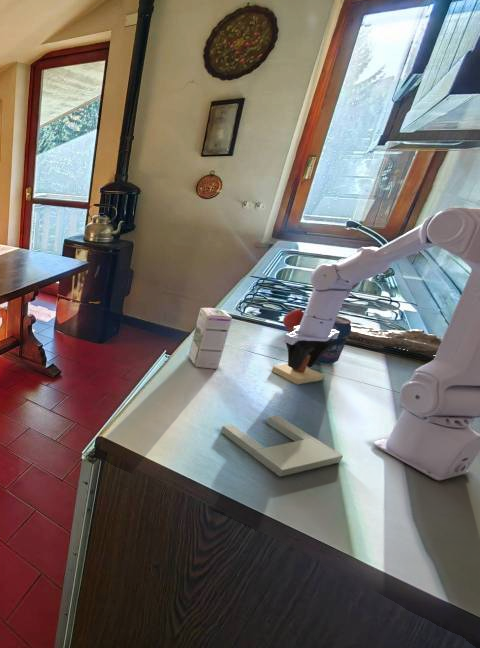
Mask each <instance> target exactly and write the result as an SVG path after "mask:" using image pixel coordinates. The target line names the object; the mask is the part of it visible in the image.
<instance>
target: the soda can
mask: <svg viewBox="0 0 480 648" xmlns="http://www.w3.org/2000/svg"><path fill="white" fill-rule="evenodd" d="M351 324H352V321H351V320H350V319H348V318H345V317H343V316H340V315H338V316H337V318H336V320H335V323H334V325H333V328H332V329H334V330H337V331H339V335H338V337H337V339H332V338H330V339H329V340H328V341H331V342H333V343H334V346H333V347H332V348H330V349H329V350H327V351H326V352H325V353H324V354H323V355H322V356H321V357H320V358H319V359H318V360H317V362H316V363H315V364H321V365H325V366H326V365H327V366H329V365H330V366H331V365H333V364H334V363H337V362H338V361H339V360H340V357H341V354H342V352H343V350H344V348H345V346H346V343H347V341H348V336H349V334H350V332H351V329H352V328H351Z"/></svg>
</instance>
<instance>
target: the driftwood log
mask: <svg viewBox="0 0 480 648" xmlns="http://www.w3.org/2000/svg"><path fill="white" fill-rule="evenodd" d="M351 328H352V329H351V332H350V334H349V336H348V339H350V340H354V341H356V342H359V343H365V344H368V345H373V346H378V347H379V346H381V347H385V348H392V349H396V350H399V351H401V352H405V353H409V354H418V355H423V356H425V357H427V358H432V359H434V358H435V356H433V355H436V353H437V351H438V349H439V346H440V344H441V342H442V339H443V337H438V336H437V335H436V334H429V333H427V332H426V333H425V330H424V329H409V330H407V329H406V330H398V329H390V330H388V329H376V328H373V327H369V326H364V325H363V326H362V325H358V324H352V323H351ZM356 338H357V339H356ZM348 339H347V340H348ZM360 339H361V340H360ZM364 340H365V341H364ZM394 347H396V348H394ZM399 348H401V349H399ZM403 349H405V350H403ZM407 350H408V351H407Z"/></svg>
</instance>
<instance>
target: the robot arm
mask: <svg viewBox="0 0 480 648" xmlns="http://www.w3.org/2000/svg"><path fill="white" fill-rule="evenodd" d="M434 247H438V248H440V249H442V250H444V251H446V252H448V253H449V254H452V255H454V256H455V257H457V258H460V259H461V260H462V261H463V262H464V263H465V264H466V265H467V267H469V268H470V270H471V271H470V273H469V276H468V278H467V280H466V283H465V285H464V287H463V290H462V291H461V294H460V297H459V299H458V302H457V303H456V307H455V308H454V311H453V313H452V316H451V318H450V320H449V323H448V325H447V328H446V330H445V332H444V335H443V337H442V342H441V344H440V346H439V349H438V351H437V353H436V356H435V358H433V359H432V360H431V361H429V362H427V363H425V364H423V365H421V366H419V367H418V368H416V369H415V370H414V372H413V373H412V376H411V377H410V378H409V379H408V380H407V381H406V382H404V383H403V384H402V385H401V387H400V389H399V400H400V402H401V404H402V405H401V408H402V409H403V410H402V412H401V414H400V415H399V417H398V419H397V421H396V423H395V425H394V426H393V429H392V430H391V432H390V433H389V435H388V438H383V439H381V440H376V441H372V446H374V447H376V448H378V449H380V450H381V451H383V452H385V453H387V454H389V455H391V456H392V457H393V458H396V459H397V460H399V461H401V462H402V463H405V464H406V465H407V466H410V467H412V468H413V469H415V470H417V471H419V472H420V473H422V474H424V475H426V476H428V477H430V478H431V479H433V480H435V481H438V482H439V481H440V482H441V481H443V480H444V481H445V480H447V479H450V478H451V479H452V478H454V477H459V476H461V475H465V474H468V473H469V468H470V467H471V466H472V465H473V462H474V461H475V459H476V458H477V456H478V455H479V454H480V433H478V432H477V431H475V430H473V429H472V428H471V427H470V426H469V425H470V424H473V423H474V421H475V419H480V207H464V206H451V207H448V208H447V207H446V208H444V209H442V210H440V211H439V212H437V213H436V214H432V215H429V216H427V217H425V218H424V220H423V222H422V223H421V224H420V225H418V226H416V227H415V228H413V229H411V230H409V231H408V232H406V233H404V234H402V235H400V236H398V237H396V238H395V239H393V240H391V241H389V242H387V243H385V244H384V245H382V246H380V247H376V246H367V247H365V246H362V247H360V248H358V249H357V250H356V252H355V253H353V254H350V255H349V256H347V257H345V258H340V259H338V260H337V261H336V262H335V263H333V264H327V263H322V264H319V265H318V266H317V267H315V269H313V271H312V273H311V275H310V284H311V286H312V288H313V289H312V292H311V295H310V297H309V299H308V302H307V304H306V307H305V310H304V311H303V313H304V315H303V318H302V320H301V323H300V326H295V327H294V328H293V329H294V330H295V331H293V332H288V333H285V336H284V338H283V342H284V343H285V346H286V349H287V364H288V366H289V367H291V368H293V369H295V370H297V369H299V368H300V366H301V365H302V363H303V361H304V359H305V358H306V356H307V355H308V354H309V355H310V356H311V357H310V359H309V362H308V364H307V367H308V368H313V366H314V365H315V364H317V363H316V362H317V360H318V359H319V358H320V357H321V356H322V355H323V354H324V353H325V352H326V351H327V350H329V349H330V348H332V347H333V346H334V343H333V342H331V341H328V340H329V339H330V338H332V339H337V337H338V335H339V331H337V330H334V329H332V328H333V325H334V323H335V320H336V318H337V316H339V313H340V311H341V308H342V306H343V303H344V301H345V300H347V298H349V297H350V294H351V293H352V292H353V291H355V289H357V288H358V287H359V286H360V284H361V282H364V281H366V280H368V279H371V278H373V277H375V276H378V275H381V274H383V273H386V272H387V271H389V270H390V268H391V266H392V263H393V262H396V261H399V260H401V259H404V258H408V257H410V256H413V255H415V254H418V253H420V252H422V251H426V250H428V249H431V248H434Z"/></svg>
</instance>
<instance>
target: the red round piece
mask: <svg viewBox="0 0 480 648" xmlns="http://www.w3.org/2000/svg"><path fill="white" fill-rule="evenodd" d="M303 315H304V311H303V308H301V307H300V308H299V307H298V308H297V309H294V310H292V311H290V312H288V313H286V314H285V316H284V317H283V320H282V323H283V326H284V327H285V328H286V329H287V330H288V331H289V333H291V332H293V331H295V330H294V329H293V328H294V327H295V326H300V323H301V320H302V318H303Z"/></svg>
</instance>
